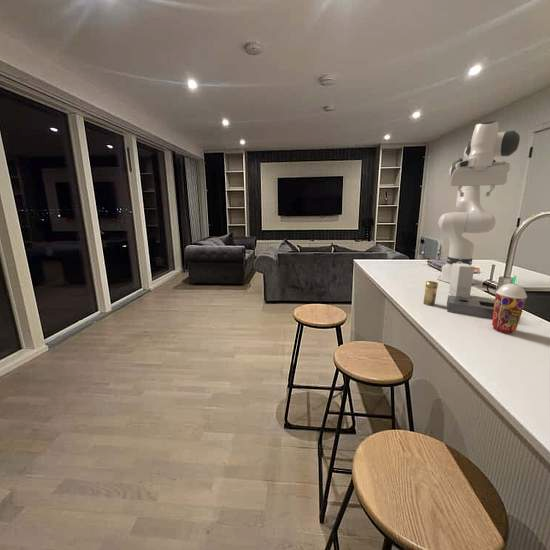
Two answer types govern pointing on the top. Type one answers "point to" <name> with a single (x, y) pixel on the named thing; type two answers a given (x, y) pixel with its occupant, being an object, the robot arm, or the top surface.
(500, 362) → the top surface
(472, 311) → the manifold block
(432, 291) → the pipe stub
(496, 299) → the smoothie
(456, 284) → the skincare box
